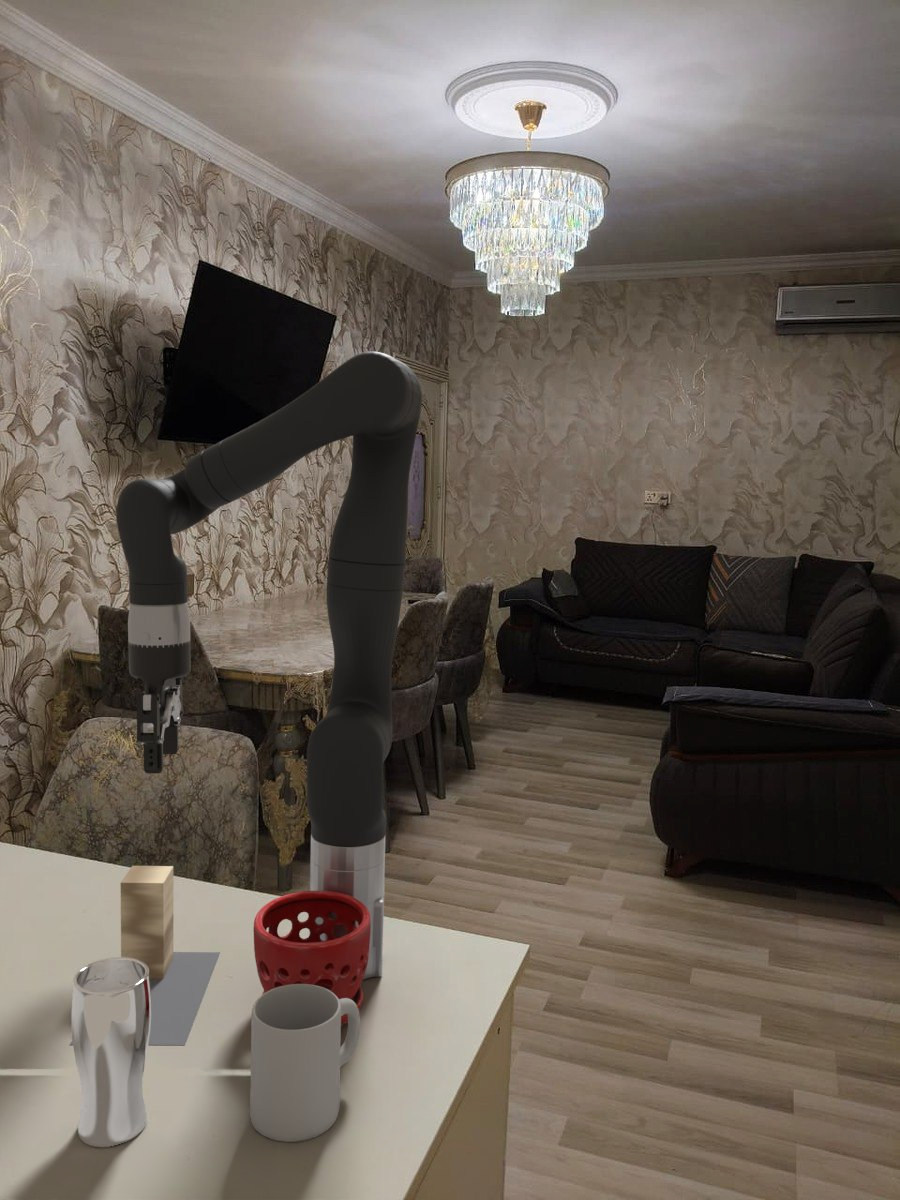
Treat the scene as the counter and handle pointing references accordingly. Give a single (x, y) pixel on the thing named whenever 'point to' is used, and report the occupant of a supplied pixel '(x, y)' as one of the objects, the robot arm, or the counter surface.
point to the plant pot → (314, 944)
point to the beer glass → (111, 1048)
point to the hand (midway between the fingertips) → (162, 762)
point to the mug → (298, 1060)
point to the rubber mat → (179, 996)
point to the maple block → (148, 917)
